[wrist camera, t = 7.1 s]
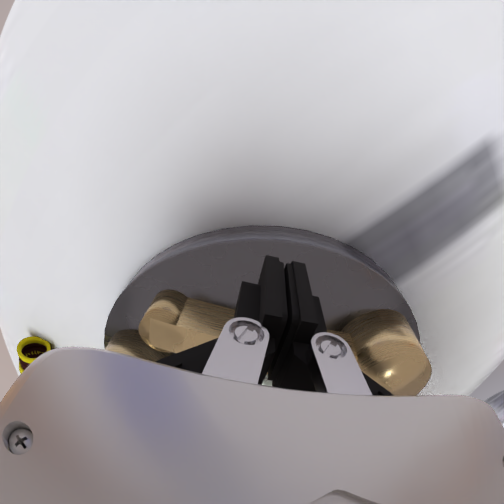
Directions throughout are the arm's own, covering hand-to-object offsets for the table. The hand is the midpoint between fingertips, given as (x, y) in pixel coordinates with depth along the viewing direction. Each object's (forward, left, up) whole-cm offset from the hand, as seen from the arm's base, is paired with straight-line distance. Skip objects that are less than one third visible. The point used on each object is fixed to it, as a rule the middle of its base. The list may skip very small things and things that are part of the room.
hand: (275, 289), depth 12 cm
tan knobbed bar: (-3, -2, -1) cm, 3 cm away
